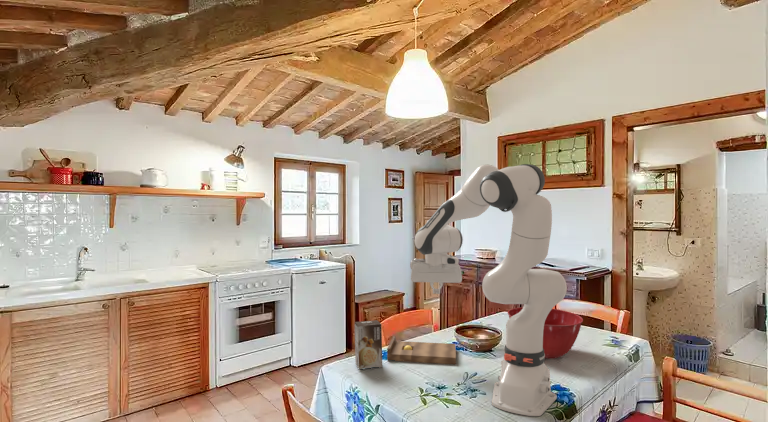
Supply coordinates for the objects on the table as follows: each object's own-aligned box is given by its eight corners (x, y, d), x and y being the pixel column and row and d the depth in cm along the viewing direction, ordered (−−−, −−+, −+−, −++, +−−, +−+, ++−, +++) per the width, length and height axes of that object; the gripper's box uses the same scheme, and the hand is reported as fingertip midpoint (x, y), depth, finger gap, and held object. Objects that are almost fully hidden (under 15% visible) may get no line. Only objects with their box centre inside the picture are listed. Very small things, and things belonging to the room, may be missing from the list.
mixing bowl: (568, 342, 177) (568, 307, 177) (595, 367, 148) (595, 325, 148) (501, 340, 180) (501, 305, 180) (516, 365, 151) (516, 323, 151)
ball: (411, 348, 161) (402, 349, 161) (412, 356, 162) (403, 356, 162) (412, 343, 164) (403, 343, 165) (413, 350, 165) (404, 350, 166)
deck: (455, 349, 168) (455, 339, 168) (455, 364, 152) (455, 352, 152) (393, 346, 172) (393, 336, 172) (387, 360, 157) (387, 348, 157)
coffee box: (378, 361, 156) (378, 319, 156) (382, 367, 149) (382, 324, 149) (354, 364, 153) (354, 321, 153) (358, 370, 147) (357, 326, 147)
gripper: (409, 259, 161) (409, 294, 161) (462, 260, 157) (462, 295, 157) (411, 257, 167) (411, 291, 167) (461, 258, 164) (461, 292, 164)
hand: (436, 293), depth 162 cm, fingers closed
